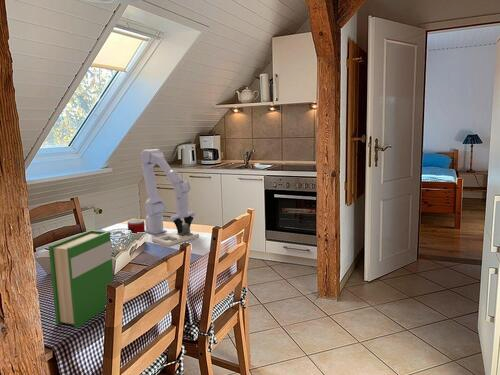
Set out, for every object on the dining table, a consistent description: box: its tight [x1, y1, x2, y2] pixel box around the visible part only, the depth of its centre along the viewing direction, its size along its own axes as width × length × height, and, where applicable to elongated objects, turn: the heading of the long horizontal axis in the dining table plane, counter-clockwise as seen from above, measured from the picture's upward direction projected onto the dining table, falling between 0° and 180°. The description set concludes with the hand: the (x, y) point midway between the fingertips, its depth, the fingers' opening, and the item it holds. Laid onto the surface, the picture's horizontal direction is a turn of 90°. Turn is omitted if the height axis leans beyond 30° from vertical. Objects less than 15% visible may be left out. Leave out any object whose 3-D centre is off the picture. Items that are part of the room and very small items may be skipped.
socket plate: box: [151, 230, 200, 247], centre depth 203 cm, size 12×20×2 cm, turn 139°
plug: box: [178, 222, 191, 236], centre depth 206 cm, size 4×4×6 cm
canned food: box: [127, 218, 146, 233], centre depth 197 cm, size 8×8×11 cm
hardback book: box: [48, 229, 114, 329], centre depth 124 cm, size 18×7×24 cm, turn 162°
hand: (183, 231), depth 206 cm, fingers closed on plug, 4 cm apart
